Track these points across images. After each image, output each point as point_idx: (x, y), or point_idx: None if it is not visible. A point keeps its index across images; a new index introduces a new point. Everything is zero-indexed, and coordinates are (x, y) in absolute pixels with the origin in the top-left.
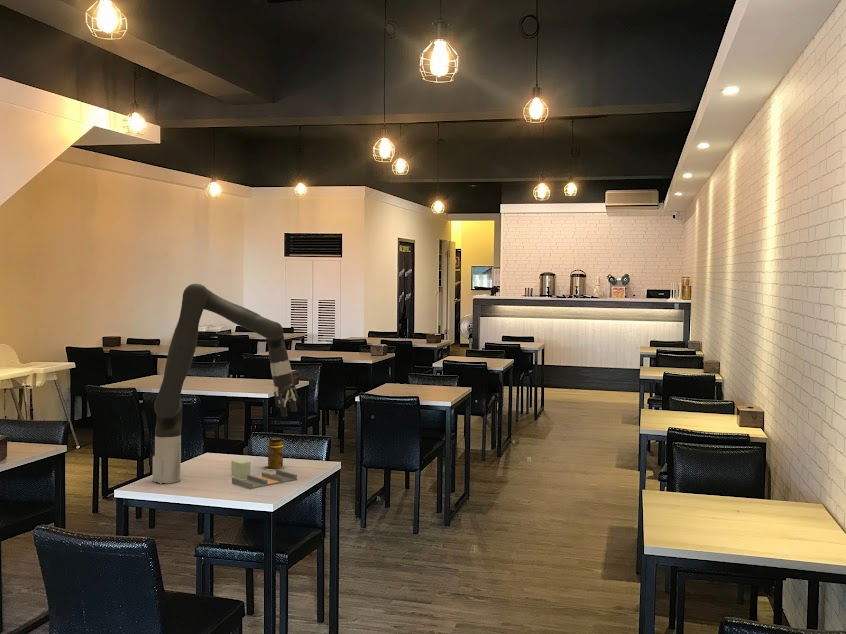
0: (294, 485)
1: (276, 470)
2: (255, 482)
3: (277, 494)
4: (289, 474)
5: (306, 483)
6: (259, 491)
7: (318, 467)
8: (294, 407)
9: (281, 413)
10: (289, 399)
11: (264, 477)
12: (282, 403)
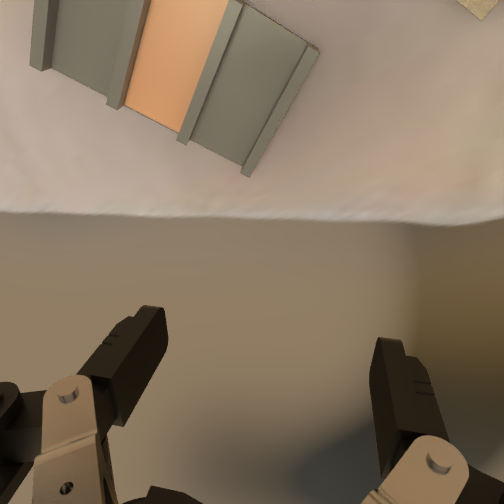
0: (177, 191)
1: (305, 50)
2: (118, 35)
3: (56, 187)
4: (255, 143)
5: (218, 215)
6: (43, 115)
7: (491, 166)
8: (376, 402)
9: (111, 335)
10: (392, 488)
11: (216, 26)
12: (15, 469)
